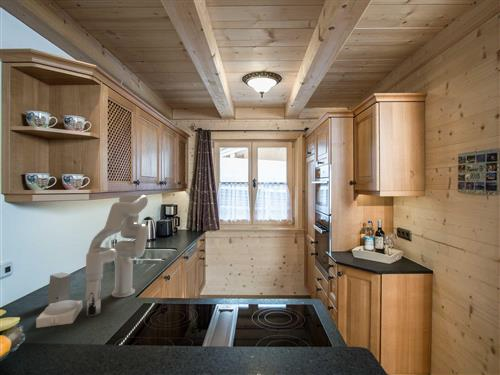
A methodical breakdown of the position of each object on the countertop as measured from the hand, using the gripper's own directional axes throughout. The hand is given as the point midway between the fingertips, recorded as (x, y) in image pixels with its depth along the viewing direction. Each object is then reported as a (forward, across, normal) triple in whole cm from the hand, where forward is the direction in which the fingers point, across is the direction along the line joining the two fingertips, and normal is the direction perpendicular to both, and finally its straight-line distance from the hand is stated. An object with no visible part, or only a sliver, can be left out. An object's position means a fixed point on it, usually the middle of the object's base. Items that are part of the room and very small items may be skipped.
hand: (93, 310), depth 131 cm
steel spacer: (+1, 0, 0) cm, 1 cm away
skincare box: (+1, -17, -20) cm, 26 cm away
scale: (+1, 0, -14) cm, 14 cm away
